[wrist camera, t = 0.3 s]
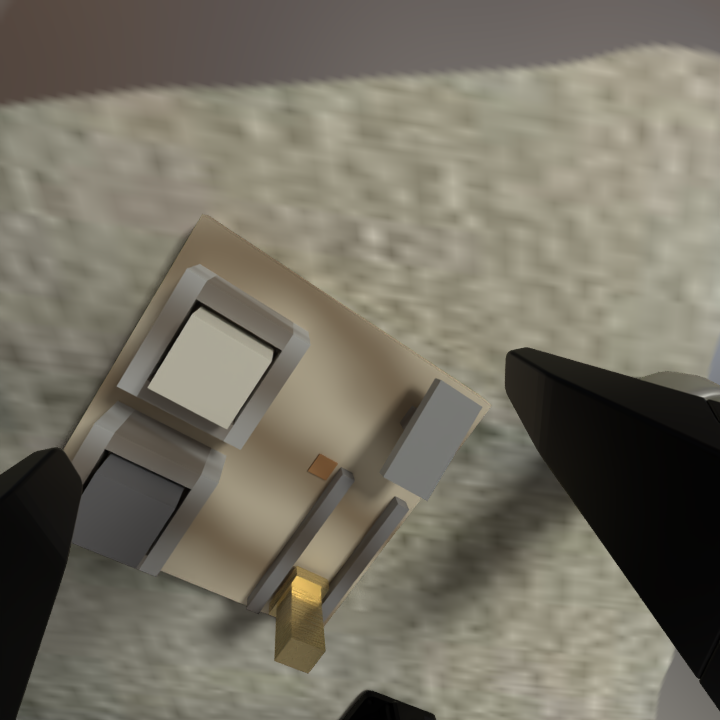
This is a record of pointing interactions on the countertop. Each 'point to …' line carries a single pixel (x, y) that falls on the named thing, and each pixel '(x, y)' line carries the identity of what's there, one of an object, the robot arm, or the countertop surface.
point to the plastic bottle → (686, 384)
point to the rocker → (430, 439)
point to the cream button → (212, 368)
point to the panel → (265, 429)
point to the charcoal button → (124, 510)
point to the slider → (299, 619)
